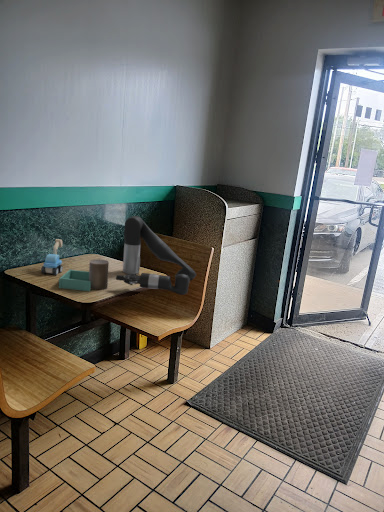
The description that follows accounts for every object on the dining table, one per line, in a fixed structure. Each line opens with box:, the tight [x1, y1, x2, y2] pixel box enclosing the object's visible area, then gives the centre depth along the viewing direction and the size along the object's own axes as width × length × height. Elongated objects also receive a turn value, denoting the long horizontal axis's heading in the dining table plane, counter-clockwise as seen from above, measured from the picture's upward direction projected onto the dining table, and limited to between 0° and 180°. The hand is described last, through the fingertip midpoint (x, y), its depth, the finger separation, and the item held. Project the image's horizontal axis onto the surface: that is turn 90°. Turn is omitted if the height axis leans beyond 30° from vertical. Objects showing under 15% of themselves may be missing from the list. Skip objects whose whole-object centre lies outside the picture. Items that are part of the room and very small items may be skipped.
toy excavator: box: [40, 238, 64, 276], centre depth 235 cm, size 9×17×17 cm, turn 174°
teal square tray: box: [58, 268, 91, 292], centre depth 219 cm, size 16×17×5 cm
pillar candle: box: [88, 258, 110, 291], centre depth 218 cm, size 10×10×15 cm
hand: (116, 277), depth 218 cm, fingers closed
